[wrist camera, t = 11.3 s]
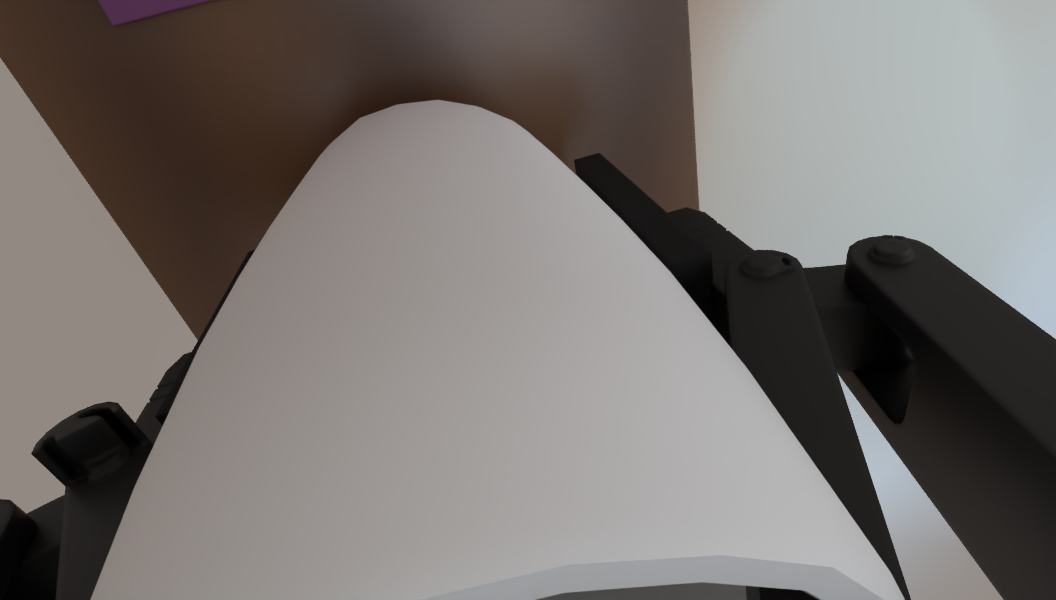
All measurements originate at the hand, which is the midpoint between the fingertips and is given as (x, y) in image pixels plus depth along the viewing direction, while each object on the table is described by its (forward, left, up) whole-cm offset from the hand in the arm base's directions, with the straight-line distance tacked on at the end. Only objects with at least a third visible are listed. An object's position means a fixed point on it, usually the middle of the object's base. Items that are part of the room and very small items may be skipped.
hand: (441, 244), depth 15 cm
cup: (0, 0, -2) cm, 2 cm away
